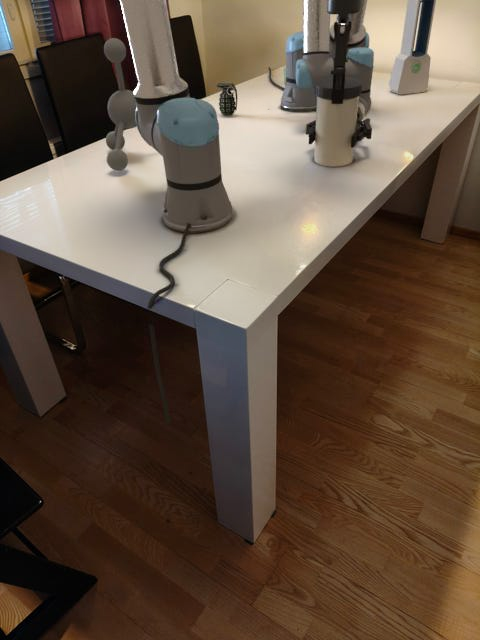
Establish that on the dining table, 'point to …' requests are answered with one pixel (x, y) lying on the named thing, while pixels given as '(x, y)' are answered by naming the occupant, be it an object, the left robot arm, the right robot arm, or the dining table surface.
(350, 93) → the lid
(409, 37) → the electronic device
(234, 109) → the grenade
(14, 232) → the dining table surface
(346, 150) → the jar
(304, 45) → the right robot arm
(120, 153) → the molecular model
